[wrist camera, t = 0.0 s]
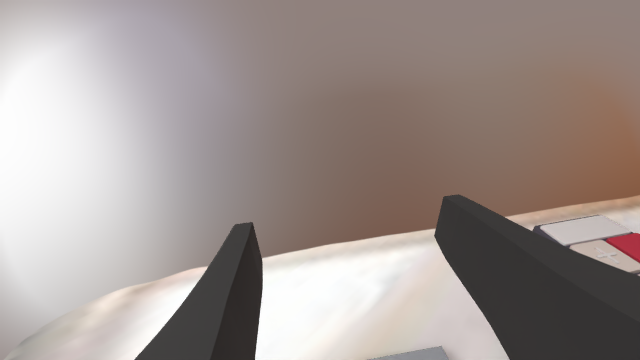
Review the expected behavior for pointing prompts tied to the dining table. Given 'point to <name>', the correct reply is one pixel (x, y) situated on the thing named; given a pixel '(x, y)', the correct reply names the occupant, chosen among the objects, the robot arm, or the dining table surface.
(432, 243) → the dining table surface
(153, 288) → the dining table surface
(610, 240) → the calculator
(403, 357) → the rail board
